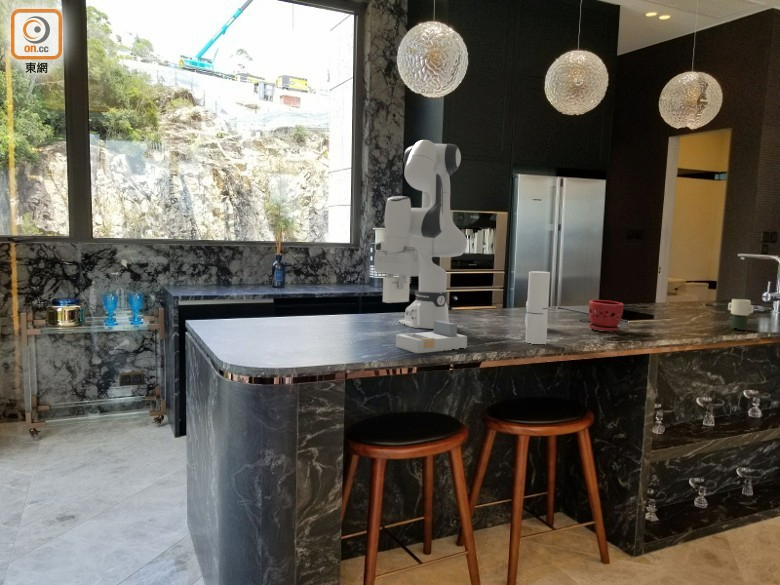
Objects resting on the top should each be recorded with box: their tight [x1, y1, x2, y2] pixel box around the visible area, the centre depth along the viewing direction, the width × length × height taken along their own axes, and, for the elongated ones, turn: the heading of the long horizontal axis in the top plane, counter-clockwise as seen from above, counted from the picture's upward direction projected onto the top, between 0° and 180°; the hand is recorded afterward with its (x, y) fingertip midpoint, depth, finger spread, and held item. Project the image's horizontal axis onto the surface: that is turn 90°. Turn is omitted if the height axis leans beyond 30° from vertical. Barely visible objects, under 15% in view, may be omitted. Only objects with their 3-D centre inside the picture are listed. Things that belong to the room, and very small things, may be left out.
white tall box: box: [524, 270, 551, 345], centre depth 209 cm, size 7×7×25 cm
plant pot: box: [588, 299, 624, 332], centre depth 242 cm, size 13×13×12 cm
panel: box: [382, 276, 410, 304], centre depth 197 cm, size 9×3×8 cm, turn 127°
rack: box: [395, 320, 468, 354], centre depth 196 cm, size 12×20×8 cm, turn 123°
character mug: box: [727, 298, 754, 330], centre depth 255 cm, size 11×7×13 cm, turn 27°
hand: (395, 288), depth 197 cm, fingers closed on panel, 3 cm apart
